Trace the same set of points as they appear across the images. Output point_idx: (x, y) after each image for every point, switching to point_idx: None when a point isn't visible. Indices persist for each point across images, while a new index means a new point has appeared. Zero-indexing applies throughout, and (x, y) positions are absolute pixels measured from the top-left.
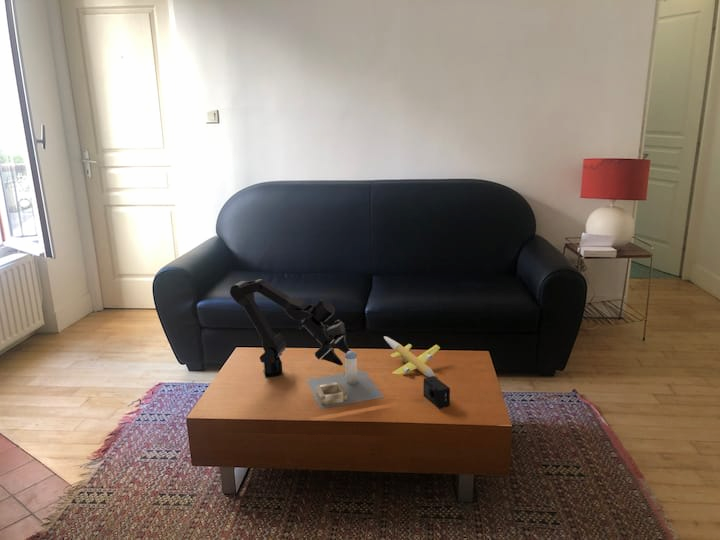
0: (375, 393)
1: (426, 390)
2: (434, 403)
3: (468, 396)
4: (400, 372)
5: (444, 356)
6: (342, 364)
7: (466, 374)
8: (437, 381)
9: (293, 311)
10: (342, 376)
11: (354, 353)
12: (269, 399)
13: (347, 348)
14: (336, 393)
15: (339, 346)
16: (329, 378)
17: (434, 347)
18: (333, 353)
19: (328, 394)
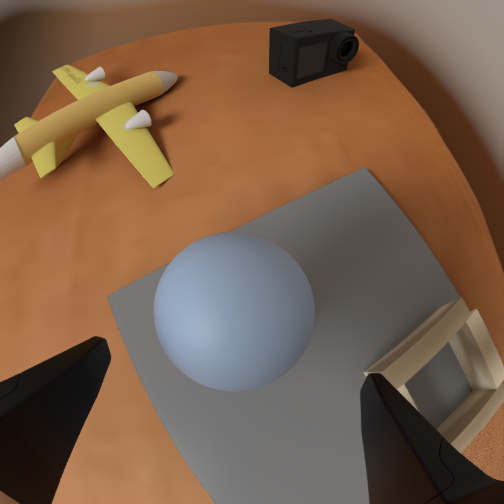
0: (349, 199)
1: (307, 62)
2: (334, 70)
3: (268, 39)
4: (144, 143)
5: (59, 100)
6: (378, 375)
7: (159, 50)
8: (305, 25)
9: None
10: (191, 407)
11: (246, 237)
12: None
13: (59, 375)
14: (480, 341)
15: (42, 469)
16: (231, 472)
17: (61, 72)
18: (481, 484)
19: (492, 374)
